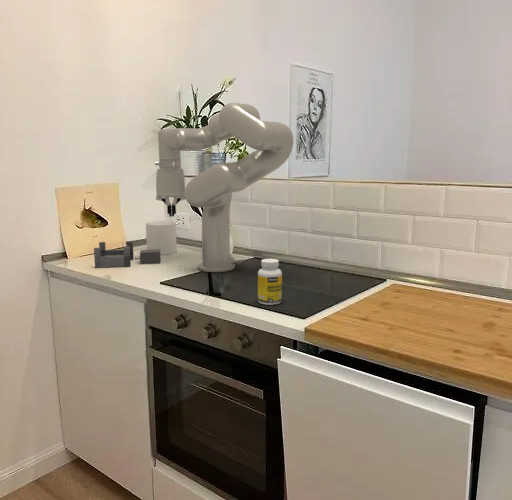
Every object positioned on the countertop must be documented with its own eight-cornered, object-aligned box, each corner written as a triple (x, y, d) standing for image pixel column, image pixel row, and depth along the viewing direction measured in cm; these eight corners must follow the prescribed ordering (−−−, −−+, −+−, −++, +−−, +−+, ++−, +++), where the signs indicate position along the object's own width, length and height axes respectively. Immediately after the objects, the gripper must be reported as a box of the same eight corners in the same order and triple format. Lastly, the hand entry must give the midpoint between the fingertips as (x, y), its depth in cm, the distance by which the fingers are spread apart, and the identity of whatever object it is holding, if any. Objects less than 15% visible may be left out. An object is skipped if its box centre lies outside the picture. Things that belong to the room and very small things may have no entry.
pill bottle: (261, 306, 134) (261, 263, 132) (255, 299, 140) (255, 258, 138) (284, 304, 136) (285, 262, 133) (277, 297, 142) (277, 257, 139)
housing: (133, 259, 191) (132, 241, 189) (130, 266, 179) (129, 247, 177) (100, 260, 189) (99, 241, 188) (95, 268, 177) (93, 248, 176)
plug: (160, 261, 188) (160, 249, 188) (160, 264, 184) (159, 252, 183) (136, 261, 187) (135, 250, 186) (134, 265, 182) (134, 252, 181)
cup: (152, 256, 196) (150, 225, 193) (143, 251, 206) (142, 222, 203) (180, 253, 201) (179, 223, 199) (171, 248, 211) (169, 219, 209)
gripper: (147, 165, 175) (150, 218, 179) (191, 165, 177) (192, 217, 181) (149, 164, 182) (151, 215, 186) (191, 164, 184) (192, 214, 188)
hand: (171, 216), depth 183 cm, fingers closed
